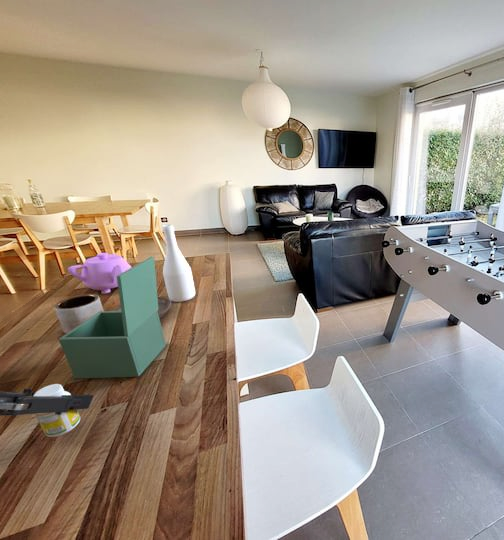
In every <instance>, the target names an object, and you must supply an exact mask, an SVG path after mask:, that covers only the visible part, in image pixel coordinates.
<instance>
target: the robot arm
mask: <svg viewBox="0 0 504 540" xmlns="http://www.w3.org/2000/svg"><path fill="white" fill-rule="evenodd" d="M32 391H33V388H24V389H23V391H22V392H18V391H1V390H0V416H1V417H2V416H11V417H17V416H22V415H32V414H33V415H35V413H50V412H55V414H57V415H61V413H62V412H68V411H69V410H76V409H77V410H88V409H90V406H91V404H92V401H93V399H94V396H95V394H71V395H62V396H34V394H35V393H36V392H32Z"/></svg>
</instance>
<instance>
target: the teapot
mask: <svg viewBox="0 0 504 540" xmlns="http://www.w3.org/2000/svg"><path fill="white" fill-rule="evenodd" d="M132 267H133V266H132V265H130V264H129V263H128V261H126V259H124V257H123V256H121V255H119V254H115V253H111V254H109V253H108V252H100V253H97V254H96V256H93V257H89V258H87V259H85V261H84V262H83V264H77V265H71V266H69V267H68V268H67V271H68V273H69V274H70V275H71V276H73V277H74V278H76V279H78V280H81V281H82V283H83V285H84V286H86V287H87V288H89V289H91V290H94V291H100V293H101V294H108V293H111V289H115V288H118V283H117V276H118V275H119V274H121V273H123V272H125V271H126V270H128V269H130V268H132ZM78 269H81V273H80V274H79V272H78V271H77V270H78Z"/></svg>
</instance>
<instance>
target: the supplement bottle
mask: <svg viewBox="0 0 504 540" xmlns="http://www.w3.org/2000/svg"><path fill="white" fill-rule="evenodd" d="M34 393H35V394H34V396H62V395H72V394H71V392H69V391H67V390H65V389H64V388H63V385H62V384H60V383H54V384H53V383H52V384H49V385H46V386H44V387H42V388H39V390H37V391H36V392H34ZM34 415H35V417H36V420H37V421H38V423H39V426H40V427H41V429H42V432H43V433H44V435H45V436H46V437H49V438H55V437H56V438H57V437H60V436H63V435H65V434H67V433H69V432H70V431H72V430H73V429H75V428H76V427H77V426H78V424H79V423H80V421H81V415H80V413H79V411H78V409H76V410H69V411H68V412H62V413H61V415H57V414H55V412H50V413H35V414H34Z"/></svg>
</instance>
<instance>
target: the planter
mask: <svg viewBox="0 0 504 540" xmlns="http://www.w3.org/2000/svg"><path fill="white" fill-rule="evenodd" d="M53 309H54V311H55V314H56V316H57V318H58V321H59V323H60V326H61V329H62V331H63V333H64V334H65V335H66V334H67V333H69V332H70V331H71V330H73V329H74V328H76V327H77V326H79V325H80V324H82V323H83V322H85V321H86V320H88V319H89V318H91V317H92V316H94V315H95V314H97V313H98V312H100V311H105V309H104V306H103V304H102V301H101V297H100V296H99V295H98V294H95V293H94V294H93V293H86V294H78V295H73V296H70V297H67V298H64V299H61V300H59V301H58V302H56V303H55V304H54V305H53Z"/></svg>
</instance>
